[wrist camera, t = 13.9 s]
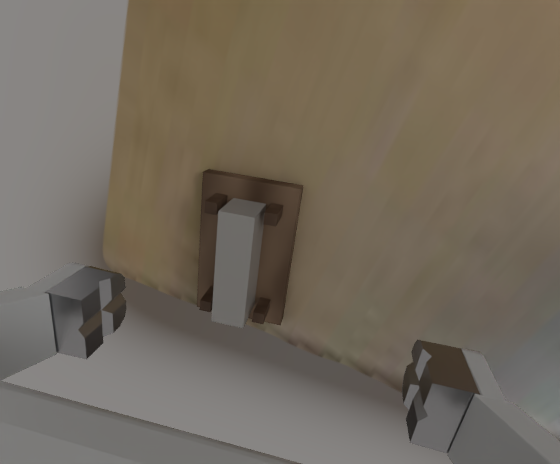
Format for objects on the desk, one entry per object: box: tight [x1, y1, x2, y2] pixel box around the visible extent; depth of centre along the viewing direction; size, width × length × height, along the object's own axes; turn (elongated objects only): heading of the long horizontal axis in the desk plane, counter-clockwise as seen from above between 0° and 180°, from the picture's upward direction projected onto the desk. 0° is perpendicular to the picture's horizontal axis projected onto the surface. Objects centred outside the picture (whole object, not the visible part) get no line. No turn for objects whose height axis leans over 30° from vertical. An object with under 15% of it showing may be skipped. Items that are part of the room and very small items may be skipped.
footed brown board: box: [197, 169, 303, 325], centre depth 38 cm, size 10×16×4 cm, turn 173°
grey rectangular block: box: [211, 198, 266, 328], centre depth 36 cm, size 3×12×4 cm, turn 173°
